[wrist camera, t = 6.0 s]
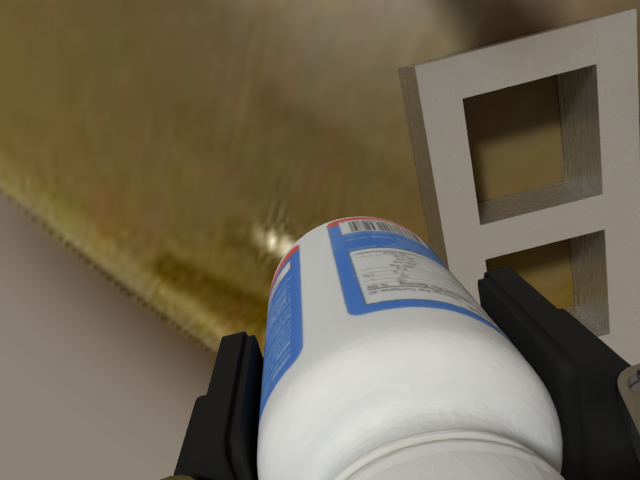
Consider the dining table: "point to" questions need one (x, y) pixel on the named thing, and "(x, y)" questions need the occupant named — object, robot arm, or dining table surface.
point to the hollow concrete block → (551, 200)
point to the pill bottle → (393, 369)
